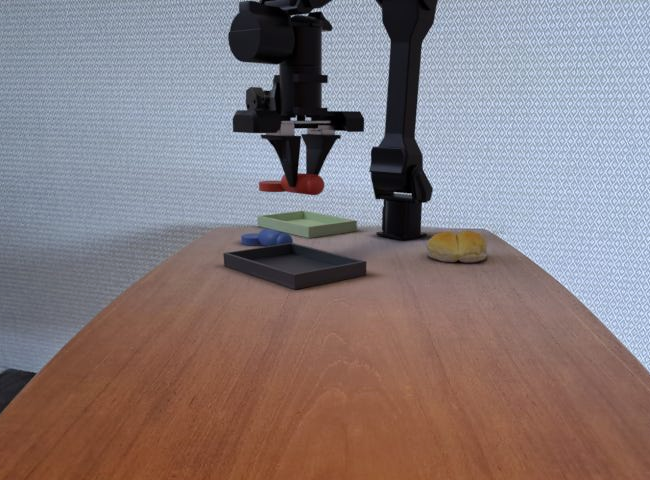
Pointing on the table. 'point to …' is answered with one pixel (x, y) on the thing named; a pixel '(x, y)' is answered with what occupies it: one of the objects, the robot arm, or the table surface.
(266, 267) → the front tray
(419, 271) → the table surface
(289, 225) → the back tray
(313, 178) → the red elongated piece
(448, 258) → the bread roll
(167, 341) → the table surface
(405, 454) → the table surface
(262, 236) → the blue elongated piece
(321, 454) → the table surface
